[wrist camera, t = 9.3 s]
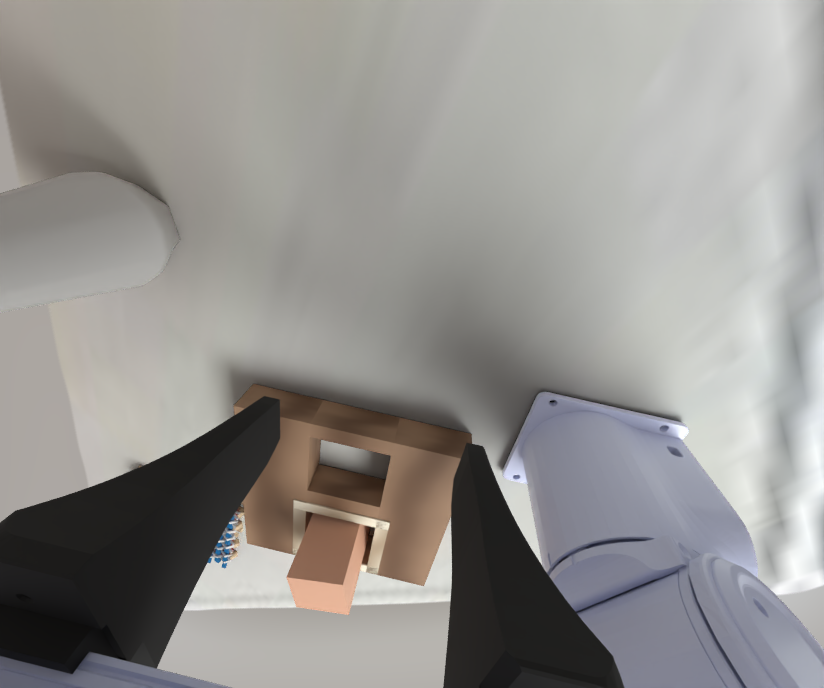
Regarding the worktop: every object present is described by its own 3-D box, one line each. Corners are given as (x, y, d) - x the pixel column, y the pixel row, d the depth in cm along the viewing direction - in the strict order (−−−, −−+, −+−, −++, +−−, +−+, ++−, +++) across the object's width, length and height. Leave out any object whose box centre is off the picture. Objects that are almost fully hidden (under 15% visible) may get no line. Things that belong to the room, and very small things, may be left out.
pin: (367, 495, 30) (342, 585, 24) (371, 525, 32) (348, 614, 25) (322, 490, 30) (286, 577, 24) (328, 520, 32) (296, 607, 26)
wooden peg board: (471, 434, 25) (472, 462, 23) (426, 557, 33) (423, 587, 30) (253, 383, 25) (232, 406, 23) (261, 517, 33) (246, 544, 31)
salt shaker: (212, 231, 20) (-113, 337, 9) (165, 290, 22) (-138, 434, 11) (120, 143, 18) (-429, 132, 7) (81, 216, 21) (-381, 297, 9)
